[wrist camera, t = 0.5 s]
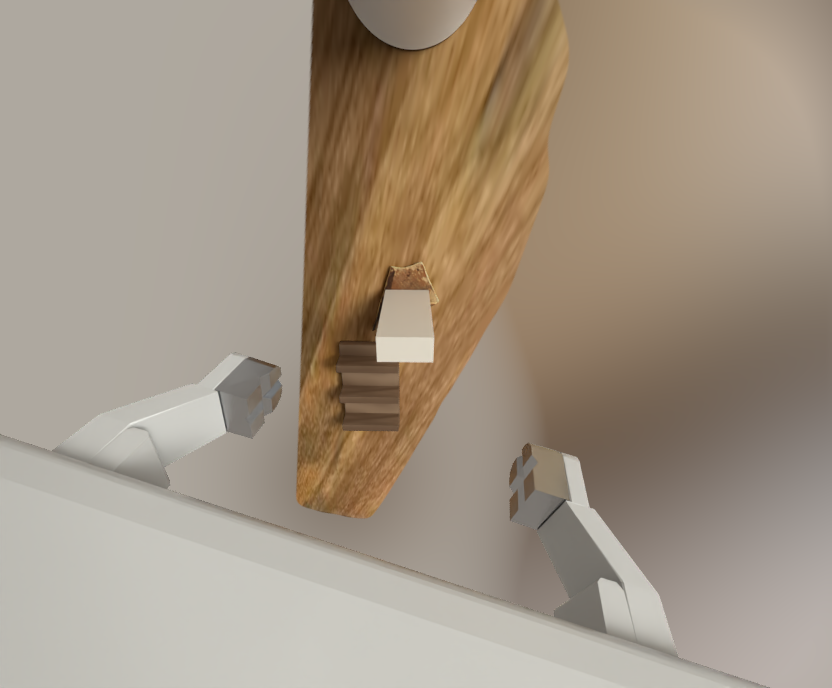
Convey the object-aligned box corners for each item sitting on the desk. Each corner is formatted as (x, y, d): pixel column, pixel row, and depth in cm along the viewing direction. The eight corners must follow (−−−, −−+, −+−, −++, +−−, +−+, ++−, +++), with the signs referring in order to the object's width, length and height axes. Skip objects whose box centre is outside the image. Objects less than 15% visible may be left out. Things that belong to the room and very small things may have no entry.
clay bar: (385, 289, 47) (375, 337, 35) (428, 290, 47) (434, 337, 35) (386, 309, 49) (376, 361, 36) (428, 310, 49) (433, 362, 37)
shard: (373, 326, 52) (372, 332, 50) (349, 282, 49) (347, 286, 47) (439, 300, 50) (440, 305, 48) (419, 252, 47) (419, 255, 45)
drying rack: (340, 341, 52) (334, 354, 49) (398, 342, 52) (397, 355, 49) (348, 421, 60) (343, 438, 56) (399, 422, 60) (398, 439, 56)
